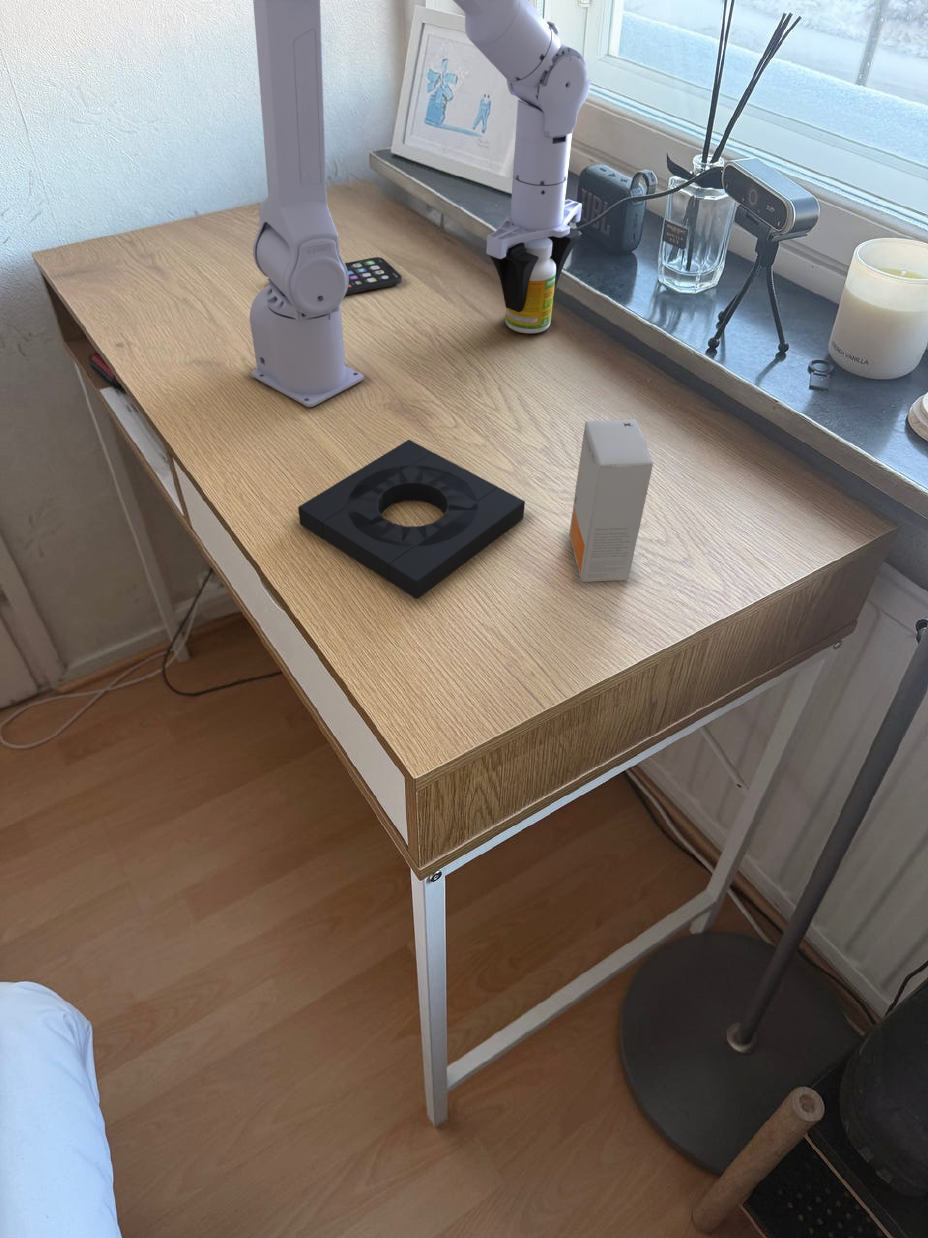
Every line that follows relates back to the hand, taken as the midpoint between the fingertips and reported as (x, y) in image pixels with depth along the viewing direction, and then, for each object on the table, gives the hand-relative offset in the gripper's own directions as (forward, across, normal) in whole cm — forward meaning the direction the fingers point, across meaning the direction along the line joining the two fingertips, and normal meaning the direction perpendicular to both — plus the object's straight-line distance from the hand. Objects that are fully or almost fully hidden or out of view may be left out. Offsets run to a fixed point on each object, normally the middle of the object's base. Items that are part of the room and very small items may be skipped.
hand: (529, 300), depth 101 cm
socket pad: (+3, -36, -15) cm, 39 cm away
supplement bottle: (+3, 0, 0) cm, 3 cm away
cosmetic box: (+3, -29, -30) cm, 42 cm away
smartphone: (+3, -8, +24) cm, 25 cm away
